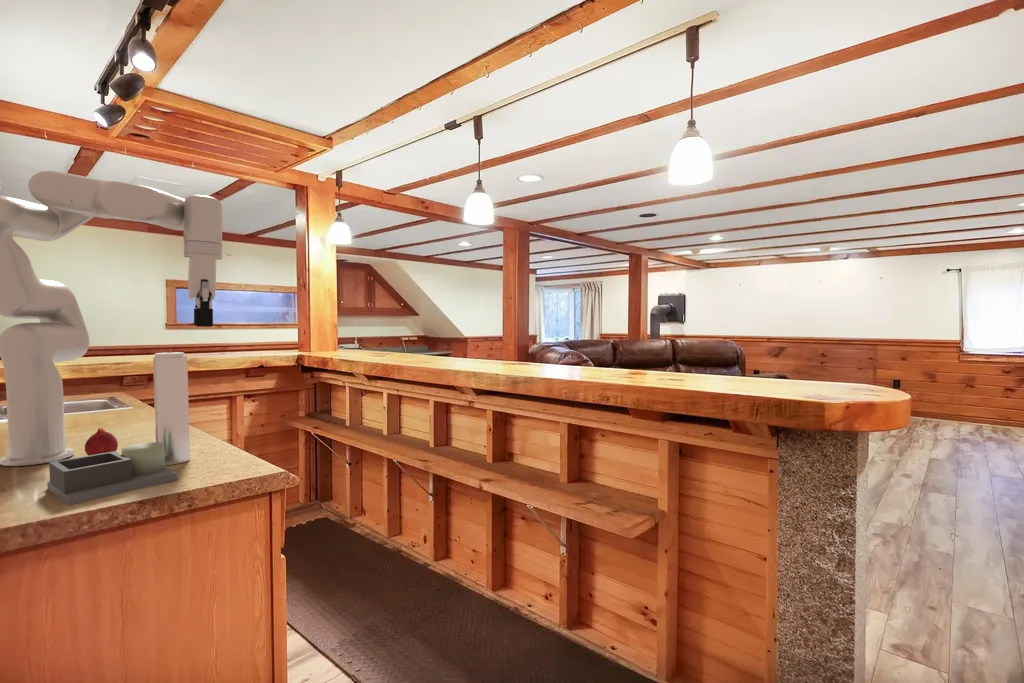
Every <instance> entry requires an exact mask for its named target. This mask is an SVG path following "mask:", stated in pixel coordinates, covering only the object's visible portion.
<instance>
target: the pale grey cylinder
mask: <svg viewBox="0 0 1024 683" xmlns="http://www.w3.org/2000/svg"><path fill="white" fill-rule="evenodd" d="M153 355H154V357H152V359H153V360H152V361H153V362H152V363H153V364H152V365H153V367H152V368H153V393H154V394H153V395H154V399H153V400H154V401H153V402H154V427H155V428H154V432H155V434H154V435H155V442H158V443H164V459H165V466H170V465H171V466H172V465H178V464H179V465H180V464H183V463H186V461H187V462H188V461H190V460H191V452H190V451H191V447H190V443H191V442H190V409H189V408H190V407H189V405H190V404H189V376H188V375H189V374H188V356H187V355H185V352H182V351H181V352H179V351H178V352H176V351H175V352H174V351H173V352H172V351H171V352H170V351H169V352H156V353H154V354H153Z"/></svg>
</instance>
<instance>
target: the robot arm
mask: <svg viewBox="0 0 1024 683" xmlns="http://www.w3.org/2000/svg"><path fill="white" fill-rule="evenodd" d="M27 186H28V191H29V194H30V195H31V196H32V198H34V200H36V202H38V203H35V202H32V201H27V200H23V199H19V198H14V197H11V196H5V195H0V315H1V316H3V318H4V317H5V318H8V319H15V320H16V319H17V320H19V319H20V320H23V319H24V320H25V319H27V320H33V319H34V320H39V322H23V323H16V324H14V325H13V324H12V326H9V327H6V328H5V329H4V330H3V331H2V332H1V333H0V359H1V363H2V367H3V371H4V379H5V390H6V391H5V393H6V410H7V411H6V412H7V434H8V453H9V454H8V455H7V454H6V455H5V456H3V457H0V466H4V467H5V466H6V467H22V466H33V465H40V464H46V463H48V464H49V462H54V461H60V460H66V459H69V458H70V457H72V456H73V455H75V449H74V448H72V447H66V430H65V429H66V426H65V403H64V400H65V399H64V385H63V378H62V375H61V373H60V371H59V370H58V368H57V367H56V364H55V363H60V362H61V363H62V362H69V361H75V360H78V359H80V358H82V357H84V356H85V355H86V353H87V352H88V350H89V349H90V336H89V332H88V329H87V326H86V323H85V320H84V317H83V315H82V311H81V308H80V306H79V302H78V300H77V298H76V296H75V294H74V293H73V291H72V290H71V289H70V288H69V287H67V286H66V285H65V284H64V283H61V282H59V281H56V280H50V279H41V278H39V277H38V276H37V275H36V273H35V270H34V269H33V266H32V262H31V260H30V258H29V255H28V254H27V253H26V252H25V250H24V249H23V248H22V247H21V245H19V244H18V243H17V241H15V240H14V237H17V238H24V239H29V240H34V241H35V240H36V241H41V242H52V241H56V240H59V239H61V238H63V237H65V236H67V235H68V234H70V233H72V232H73V231H74V230H76V229H77V228H79V227H81V226H82V225H84V224H86V223H87V222H89V221H90V220H92V219H93V218H100V219H113V218H114V217H118V218H123V219H129V220H133V221H138V222H142V223H143V222H144V223H147V224H151V225H155V226H159V227H163V228H165V229H170V230H174V231H183V257H184V258H188V274H187V275H188V279H187V280H188V281H187V282H188V284H187V285H188V290H187V291H188V300H189V301H193V300H194V308H193V325H194V326H196V327H197V328H198V327H200V328H203V327H205V328H208V327H209V328H212V327H213V326H214V309H213V302H212V301H213V300H215V296H216V286H217V261H218V260H219V261H220V260H223V204H222V202H221V201H220V200H219V199H218V198H215V197H213V196H208V195H202V194H201V195H200V194H191V195H190V194H189V195H187V196H186V197H185V198H181V197H179V196H175V195H173V194H170V193H169V192H165V191H162V190H159V189H156V188H153V187H149V186H145V185H139V184H134V183H133V184H132V183H129V182H123V181H116V180H106V179H98V178H95V177H94V178H93V177H88V176H83V175H78V174H73V173H69V172H64V171H63V172H62V171H59V170H58V171H57V170H42V171H39V172H37V173H35V174H33V175H32V176H31V177H30V178H29V180H28V184H27Z"/></svg>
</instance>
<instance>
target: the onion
mask: <svg viewBox="0 0 1024 683" xmlns="http://www.w3.org/2000/svg"><path fill="white" fill-rule="evenodd" d="M84 444H85V445H84V451H85V454H86V456H89V455H95V454H101V453H107V452H113V451H115V452H116V451H117V450H118V446H119V442H118V439H117V438H116V437H115V435H114V434H112V433H111V432H108V431H106V430H105V429H104V428H103V426H102V427H98V428H97V431H96V432H95V433H94V434H92V435H91V436H90V437H88V438H87V440H86V442H85V443H84Z"/></svg>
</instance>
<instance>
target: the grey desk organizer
mask: <svg viewBox="0 0 1024 683" xmlns="http://www.w3.org/2000/svg"><path fill="white" fill-rule="evenodd" d="M48 465H49V466H48V467H49V468H48V469H49V480H47V485H46V486H47V490H48V491H49V492H51V493H52V494H54V495H55V496H56V497H57V498H58V499H60V500H61V501H63V502H64V503H65V504H66V505H68V506H70V505H75V504H78V503H83V502H87V501H91V500H95V499H97V500H98V499H101V498H104V497H109V496H113V495H118V494H122V493H127V492H131V491H136V490H141V489H144V488H149V487H153V486H158V485H162V484H167V483H170V482H175V481H178V472H176V471H174V470H172V469H169V468H167V467H166V465H165V459H164V443H158V442H156V441H155V442H142V443H135V444H131V445H126V446H124V447H122V448H121V453H120V452H116V451H113V452H107V453H101V454H95V455H89V456H88V455H85V456H79V457H78V456H77V457H73V458H72V457H71V458H65V459H61V460H57V461H53V462H48Z"/></svg>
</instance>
